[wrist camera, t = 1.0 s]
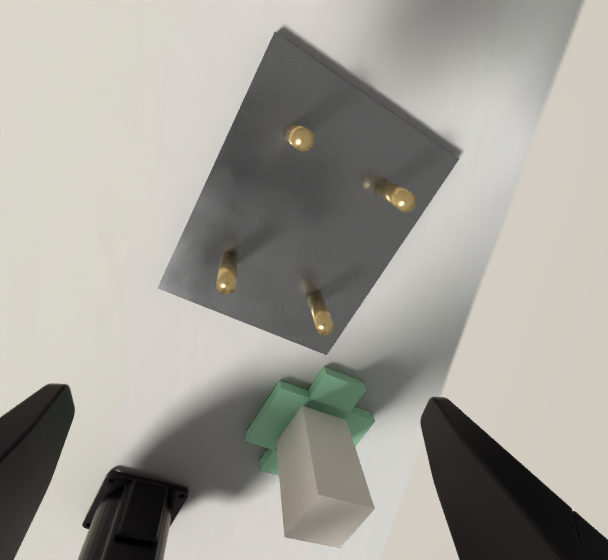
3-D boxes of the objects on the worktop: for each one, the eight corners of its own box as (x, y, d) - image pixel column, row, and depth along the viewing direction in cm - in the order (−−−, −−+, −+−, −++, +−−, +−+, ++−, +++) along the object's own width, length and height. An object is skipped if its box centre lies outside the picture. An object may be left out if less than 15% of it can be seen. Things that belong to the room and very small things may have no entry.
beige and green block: (321, 476, 32) (342, 581, 25) (232, 452, 30) (227, 562, 23) (388, 390, 29) (433, 482, 22) (295, 354, 27) (313, 446, 19)
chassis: (324, 349, 27) (337, 389, 23) (159, 283, 23) (143, 318, 19) (454, 157, 22) (495, 168, 18) (273, 33, 18) (280, 15, 14)
